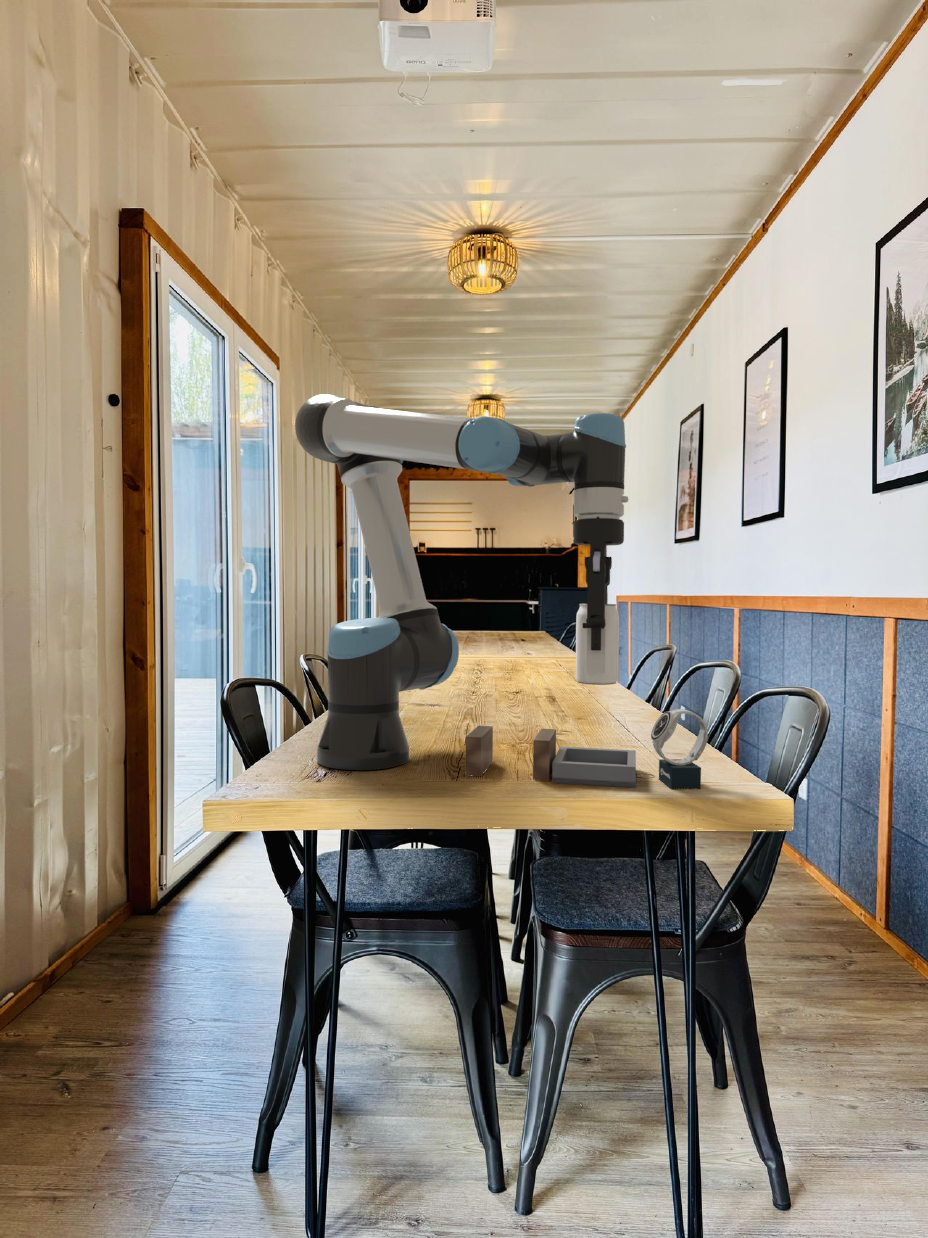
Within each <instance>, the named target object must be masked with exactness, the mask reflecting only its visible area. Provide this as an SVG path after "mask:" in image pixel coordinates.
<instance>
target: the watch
mask: <svg viewBox="0 0 928 1238" xmlns="http://www.w3.org/2000/svg"><path fill="white" fill-rule="evenodd" d="M683 714H685V715H691V716H692V717H694V718H695V720H696V721H697V722H698V725H699V726H700V729H699V732H698V734H697V737H696V740H695V743H694V744H693V746H692V747H691V750H690V751H689V752H688V756H686V757H684V758H680V759H677V758H674V759H671V758H670V759H669V758H667V757H666V755H665V754H664V752H662V749H663V747H664V746H665V743H666V742H667V741H669V739H670V738H671V737H672V736H673V734H674V733H675V731H676V728H677V725H678V720H679V719H680V718H681V716H682V715H683ZM708 731H709V730H708V726H707V724H706V722H705V721H704V719H703V718H702V717H701V716H700V715H698V714H696V713H694V712H693V711H690V710H688V709H683V708H679V709H678V708H676V709H671V710H670V711H669V710H668V711H665V712H663V713H662V714H661V715H660V716H659V717H658V718H657V719H656V721H655V723H654V725H653V727H652V730H651V734H650V738H651V739H650V740H652V745H653V748H654V750H655V752H656V754H657V755H658V756H659V757H660V758H662V759H659V760H658V781H659V780H660V781H659V782H661V783H662V782H663V783H664V784H663V783H662V784H663V785H665V786H666V787H668V788H669V789H670V790H701V788H702V787H701V786H702V784H701V783H702V780H701V779H702V767H701V766H699V765H697V764H696V763H694V762H695V761H698V760H699V758H700V757H701V755H702V753H703V752H704V750H705V749H706V747H707V743H708V741H709V734H708V733H709V732H708Z"/></svg>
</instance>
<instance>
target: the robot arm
mask: <svg viewBox="0 0 928 1238" xmlns="http://www.w3.org/2000/svg"><path fill="white" fill-rule="evenodd" d="M298 409H299V410H298V411H297V413H296V417H295V421H294V422H295V423H294V428H295V429H294V430H295V435H296V437H297V441H298V442H299V445H300V446H301V447H302V449H303V450H304V451H305V452H306V453H307V454H309V455H310V456H311V457H313V458H314V459H317V460H320V461H322V462H328V463H331V464H336V466H337V468H338V473H339V476H340V480H341V484H343V486H346V487H348V488H349V489H351V491H352V497H353V500H354V501H353V502H354V504H355V509H356V513H357V516H358V521H359V526H360V530H361V533H362V538H363V544H364V547H365V552H366V557H367V560H368V563H369V564H368V565H369V568H370V573H371V575H372V576H371V578H372V581H373V585H374V589H375V594H376V598H377V603H378V606H379V611H380V613H379V614H378V616H377V617H368V618H367V617H366V618H358V619H357V618H356V619H350V620H349V619H348V620H346V621H342V622H339V623H336V624H334V625H333V626H332V627H331V629H330V630H329V632H328V646H327V648H326V654H327V704H328V705H327V717H326V719H325V720H326V721H325V724H324V726H323V729H322V733H321V736H320V739H319V742H318V745H317V748H316V749H317V750H316V757H317V758H316V761H317V763H318V764H319V765H320V766H323V767H326V768H329V769H336V770H346V771H369V770H370V771H371V770H382V769H390V768H394V767H398V766H402V765H404V764H407V762H409V761H410V746H409V742H408V738H407V736H406V732H405V730H404V725H403V723H402V720H401V717H400V700H399V699H400V693H401V692H406V691H407V692H408V691H413V690H417V689H418V690H426V689H428V688H432V687H433V686H434V687H435V686H437V685H440V684H442V683H444V682H445V681H447V680H448V679H449V678H450V677H451V676H452V674H453V672H454V670H455V668H456V667H457V665H458V661H459V653H460V648H459V642H458V638H457V636H456V634H455V633H454V631H453V630H452V629H451V628H448V626H447V625H446V624H444V623H441V620H440V616H439V612H438V608H437V607H436V606H435V605H433V604H432V603H430V602H428V600H427V598H426V593H425V590H424V586H423V582H422V578H421V573H420V568H419V565H418V560H417V557H416V553H415V548H414V545H413V539H412V535H411V533H410V528H409V524H408V520H407V516H406V512H405V507H404V503H403V500H402V494H401V491H400V487H399V483H398V477H399V476H400V475H401V473H402V471H403V465H402V464H403V462H404V461H406V462H407V461H408V462H414V463H423V464H429V465H434V466H435V465H436V466H443V467H449V468H456V469H464V470H468V471H473V472H481V473H487V474H493V475H498V476H502V477H504V478H505V479H506V480H507V481H508V483H509V484H510V485H512V486H514V487H526V486H527V487H530V488H531V487H535V486H541V485H551V484H562V483H574V488H573V489H574V490H573V516H574V517H575V518H577V519H576V520H575V521H574V523H573V544H574V545H577V546H582V547H583V546H584V547H588V546H589V556H584V568H585V583H586V585H587V603H586V604H587V619H586V622H587V623H583V628H587V671H586V672H590V673H605V647H606V629H604V628H605V626H606V623H605V604H608V586H610V583H611V569H612V564H613V562H612V561H613V559H612V558H613V557H612V556H607V555H608V554H607V552H608V551H607V549H608V548H607V546H620V545H622V544H623V543H624V540H625V522H624V521H623V519H621V518H622V517H623V516H624V515H625V505H624V503H625V504H626V503H628V502H629V496H627V495H624V494H625V472H626V470H625V468H626V448H627V444H626V435H625V434H626V433H625V432H626V430H625V429H626V428H625V422H624V420H623V418H622V417H621V416H618V415H617V414H614V413H606V412H596V413H594V412H593V413H588V414H585V415H580V416H579V417H577V418H576V420H575V422H574V423H575V424H574V427H573V431H571V432H566V433H559V434H552V435H551V434H550V435H549V434H548V435H546V434H545V435H543V434H541V433H537V432H535V431H532V430H529V429H527V428H523V427H520V426H518V425H515V424H512V423H510V422H507V421H506V420H504V419H501V418H497V417H491V416H485V415H484V416H477V417H475V418H472V417H464V416H453V415H444V414H443V415H442V414H434V413H425V412H416V411H407V410H406V411H405V410H399V409H398V410H397V409H387V408H386V409H385V408H381V407H378V406H376V405H375V406H374V405H367V404H364V403H360V402H357V401H355V400H352V399H349V398H344V397H343V396H342V397H341V396H339V395H334V394H328V393H327V394H317V395H315V396H312V397H311V398H309V399H307V400H306V401H305V402H303V404H302V405H301V407H300V408H298Z"/></svg>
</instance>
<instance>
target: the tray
mask: <svg viewBox="0 0 928 1238" xmlns="http://www.w3.org/2000/svg"><path fill="white" fill-rule="evenodd" d="M636 751H637V750H635V749H633V750H632V749H617V748H615V749H614V748H595V747H593V748H592V747H575V746H573V747H572V746H560V747H559V748H558V751H556V756H555V758H554V761H553V768H552V775H551V780H552V783H553V784H569V785H583V784H585V785H584V786H601V787H616V788H619V787H621V788H632V789H633V788H634V789H635V788H636V785H637V784H636V783H637V782H636V781H637V779H636V774H637V773H636V772H637V771H636V770H637V768H636V767H637V766H636V765H637V761H636V760H637V756H636V754H637V753H636Z"/></svg>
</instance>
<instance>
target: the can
mask: <svg viewBox="0 0 928 1238" xmlns="http://www.w3.org/2000/svg"><path fill="white" fill-rule="evenodd" d="M578 606H579V608H578V610H577V612H576V618H575V619H576V620H575V621H576V623H575V624H576V625H575V681H577V683H578V684H583V685H594V686H595V685H597V686H599V685H600V686H605V685H607V686H609V685H615V684H617V682H618V681H619V668H620V667H619V664H620V662H619V661H620V656H619V655H620V652H619V651H620V614H619V611H618V609H617V604H614V603H607V604H605V623H606V626H605V628H604V629H606V647H605V673H590V672H586V671H587V628H583V623H587V622H586V619H587V603H579V604H578Z"/></svg>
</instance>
